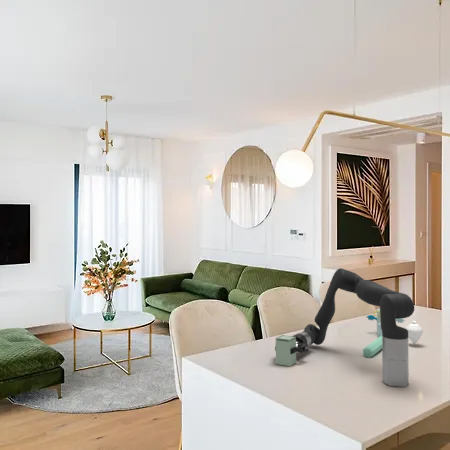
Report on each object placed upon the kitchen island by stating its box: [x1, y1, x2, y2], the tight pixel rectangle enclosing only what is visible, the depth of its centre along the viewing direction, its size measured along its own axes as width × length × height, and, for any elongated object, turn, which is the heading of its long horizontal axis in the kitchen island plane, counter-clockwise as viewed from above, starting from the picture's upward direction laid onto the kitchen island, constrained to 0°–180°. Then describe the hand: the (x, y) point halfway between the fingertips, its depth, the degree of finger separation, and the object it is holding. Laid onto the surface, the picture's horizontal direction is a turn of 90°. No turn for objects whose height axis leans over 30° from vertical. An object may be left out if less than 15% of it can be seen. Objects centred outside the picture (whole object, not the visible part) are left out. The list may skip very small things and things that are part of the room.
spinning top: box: [405, 320, 424, 347], centre depth 228 cm, size 8×8×12 cm
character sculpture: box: [366, 308, 406, 337], centre depth 249 cm, size 20×12×13 cm, turn 60°
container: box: [362, 334, 382, 359], centre depth 219 cm, size 6×6×25 cm
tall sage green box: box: [275, 334, 297, 367], centre depth 201 cm, size 6×6×11 cm
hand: (283, 350), depth 199 cm, fingers closed on tall sage green box, 6 cm apart
